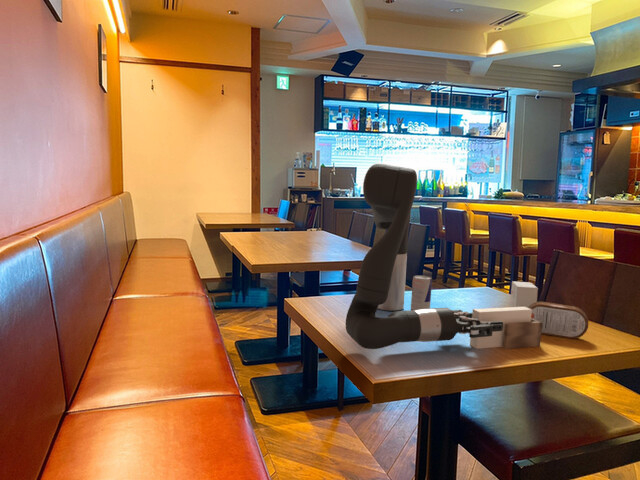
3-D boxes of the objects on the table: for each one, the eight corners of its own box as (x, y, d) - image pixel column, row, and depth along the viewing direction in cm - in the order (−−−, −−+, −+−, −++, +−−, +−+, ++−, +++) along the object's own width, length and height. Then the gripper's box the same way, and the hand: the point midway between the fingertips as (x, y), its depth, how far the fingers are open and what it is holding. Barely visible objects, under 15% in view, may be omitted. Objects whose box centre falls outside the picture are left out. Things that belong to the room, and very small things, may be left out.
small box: (534, 324, 134) (538, 288, 133) (514, 322, 135) (517, 286, 134) (528, 316, 142) (531, 282, 140) (508, 314, 143) (511, 280, 141)
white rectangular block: (476, 349, 112) (479, 312, 110) (469, 345, 114) (472, 309, 113) (528, 344, 116) (531, 309, 115) (521, 341, 118) (524, 306, 117)
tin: (586, 339, 122) (590, 307, 121) (587, 342, 120) (591, 310, 119) (523, 329, 129) (526, 299, 128) (523, 332, 126) (526, 301, 125)
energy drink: (432, 318, 135) (435, 277, 134) (422, 322, 131) (425, 280, 130) (416, 314, 139) (419, 274, 137) (406, 317, 135) (409, 276, 133)
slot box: (505, 348, 112) (508, 324, 111) (489, 340, 118) (491, 317, 117) (540, 346, 115) (542, 322, 114) (522, 338, 121) (525, 315, 120)
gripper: (449, 318, 101) (513, 314, 106) (417, 301, 115) (475, 298, 120) (446, 351, 102) (510, 346, 107) (415, 330, 116) (472, 327, 121)
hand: (491, 321), depth 113 cm, fingers open, 7 cm apart
